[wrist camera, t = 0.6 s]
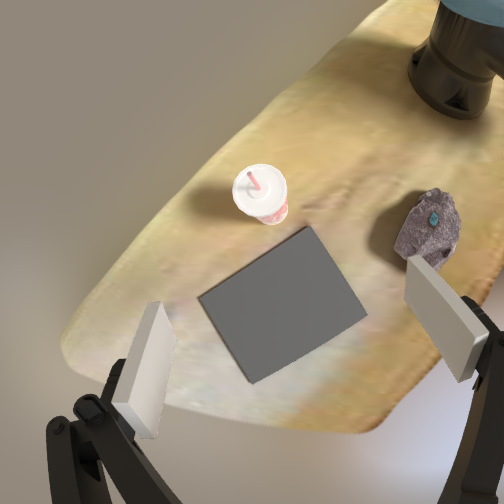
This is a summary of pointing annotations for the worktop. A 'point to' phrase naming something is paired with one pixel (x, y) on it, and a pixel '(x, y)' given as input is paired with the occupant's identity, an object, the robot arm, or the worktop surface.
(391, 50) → the worktop surface
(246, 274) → the stop mat
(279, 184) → the beverage cup
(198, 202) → the worktop surface
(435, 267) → the rock
